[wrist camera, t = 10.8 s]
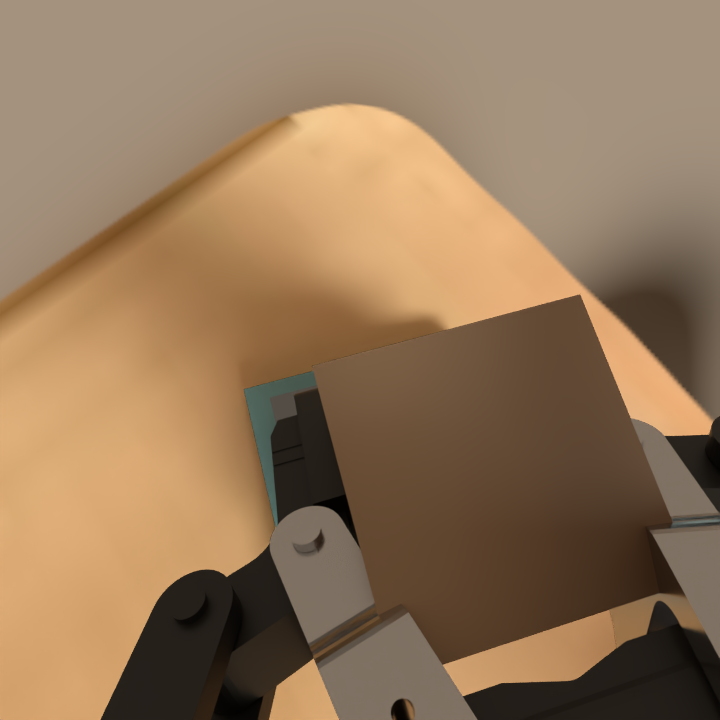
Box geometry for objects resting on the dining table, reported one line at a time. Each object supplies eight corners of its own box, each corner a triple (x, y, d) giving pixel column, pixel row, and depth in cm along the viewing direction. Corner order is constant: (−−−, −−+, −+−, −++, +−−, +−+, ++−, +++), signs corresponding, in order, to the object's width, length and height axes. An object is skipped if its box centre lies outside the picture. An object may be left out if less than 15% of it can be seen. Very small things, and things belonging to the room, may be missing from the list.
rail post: (365, 552, 16) (395, 680, 6) (332, 431, 16) (312, 365, 7) (482, 516, 16) (696, 580, 6) (444, 400, 17) (580, 294, 7)
